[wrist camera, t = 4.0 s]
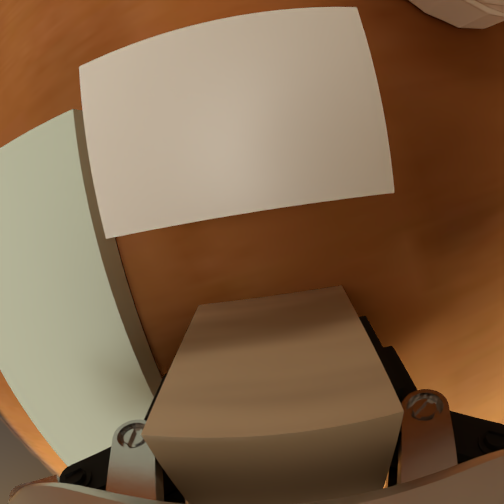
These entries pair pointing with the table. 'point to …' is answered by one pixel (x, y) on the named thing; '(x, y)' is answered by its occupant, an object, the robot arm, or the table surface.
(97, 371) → the sage board
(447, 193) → the table surface
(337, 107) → the white block
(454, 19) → the white cup
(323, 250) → the table surface
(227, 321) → the maple block
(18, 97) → the table surface
